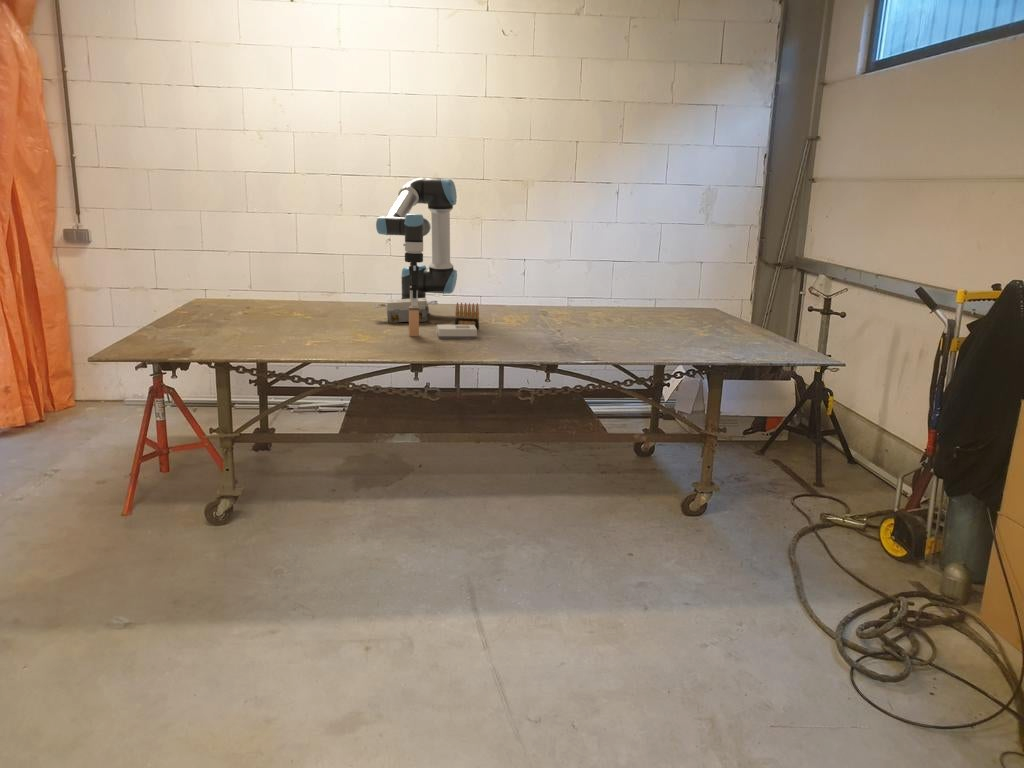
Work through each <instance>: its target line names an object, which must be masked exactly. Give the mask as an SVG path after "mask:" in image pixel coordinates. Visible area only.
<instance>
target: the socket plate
mask: <svg viewBox="0 0 1024 768" xmlns="http://www.w3.org/2000/svg"><path fill="white" fill-rule="evenodd" d="M436 334H437V338H438V339H439V340H440V339H441V340H442V339H446V340H447V339H450V340H453V339H458V340H459V339H460V340H461V339H462V340H466V339H469V340H470V339H473V340H474V339H475V340H477V338H478V330H477V329H476V327H475V325H455V324H436Z"/></svg>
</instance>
